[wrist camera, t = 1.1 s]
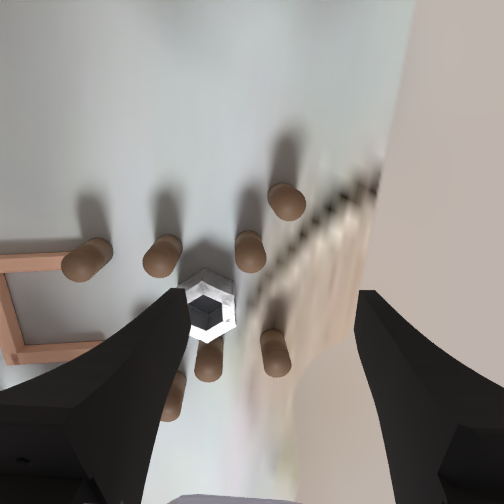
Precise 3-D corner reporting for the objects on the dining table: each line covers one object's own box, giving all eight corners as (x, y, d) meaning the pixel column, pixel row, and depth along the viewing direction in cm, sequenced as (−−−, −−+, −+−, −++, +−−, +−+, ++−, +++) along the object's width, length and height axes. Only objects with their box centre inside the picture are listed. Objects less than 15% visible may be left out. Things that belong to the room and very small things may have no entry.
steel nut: (236, 323, 31) (237, 341, 28) (182, 326, 30) (177, 345, 27) (233, 266, 29) (233, 279, 26) (175, 269, 29) (169, 282, 26)
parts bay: (107, 351, 31) (102, 359, 30) (15, 357, 30) (6, 365, 29) (86, 250, 27) (80, 255, 26) (-17, 255, 27) (-28, 260, 26)
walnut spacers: (293, 381, 33) (301, 411, 29) (114, 394, 32) (98, 427, 28) (295, 182, 27) (306, 187, 23) (72, 191, 26) (44, 198, 22)
